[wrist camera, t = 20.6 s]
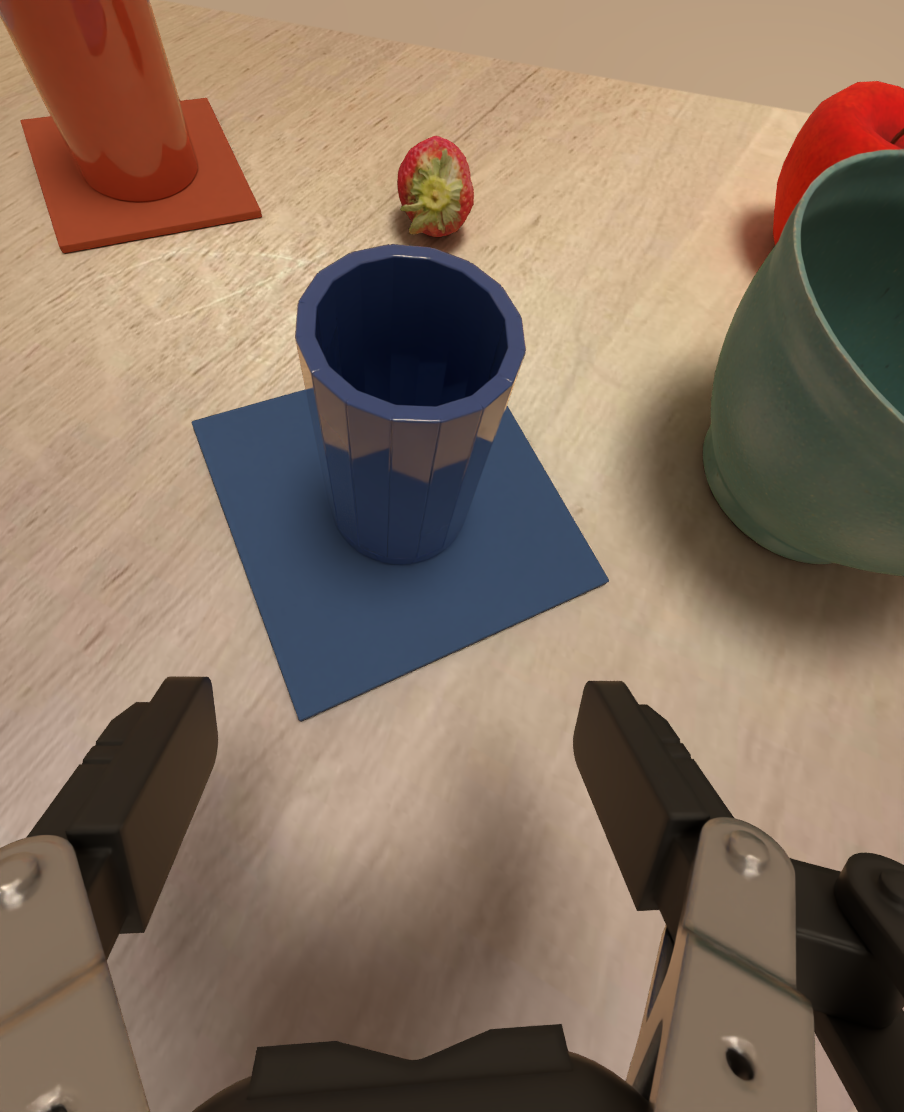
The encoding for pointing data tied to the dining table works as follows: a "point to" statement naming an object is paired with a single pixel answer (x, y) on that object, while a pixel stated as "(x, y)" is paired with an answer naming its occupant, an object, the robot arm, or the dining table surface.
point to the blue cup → (405, 392)
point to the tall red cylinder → (107, 92)
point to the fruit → (435, 187)
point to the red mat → (110, 221)
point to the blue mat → (375, 587)
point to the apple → (839, 139)
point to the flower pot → (820, 379)
